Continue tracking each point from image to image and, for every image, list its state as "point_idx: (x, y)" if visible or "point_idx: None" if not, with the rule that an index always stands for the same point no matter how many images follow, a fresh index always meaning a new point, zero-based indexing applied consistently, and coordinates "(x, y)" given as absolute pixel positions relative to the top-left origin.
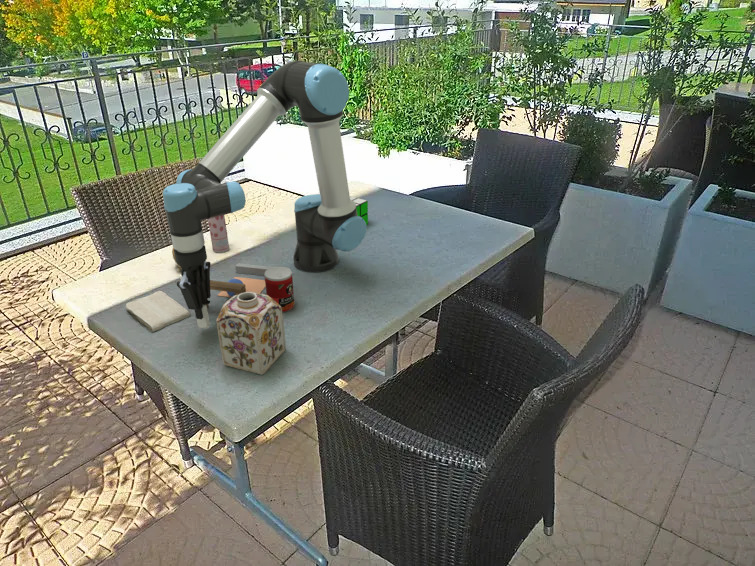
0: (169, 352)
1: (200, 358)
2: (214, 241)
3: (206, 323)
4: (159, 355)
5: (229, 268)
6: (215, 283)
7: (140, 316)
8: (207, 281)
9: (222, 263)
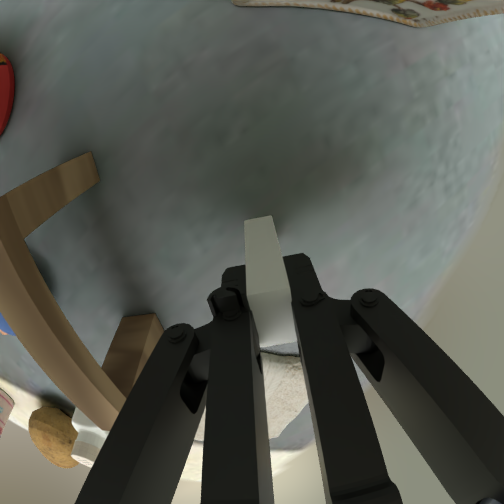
0: (408, 255)
1: (416, 131)
2: (2, 416)
3: (274, 227)
4: (424, 270)
5: (3, 359)
6: (59, 369)
7: (293, 415)
8: (142, 455)
9: (10, 378)
